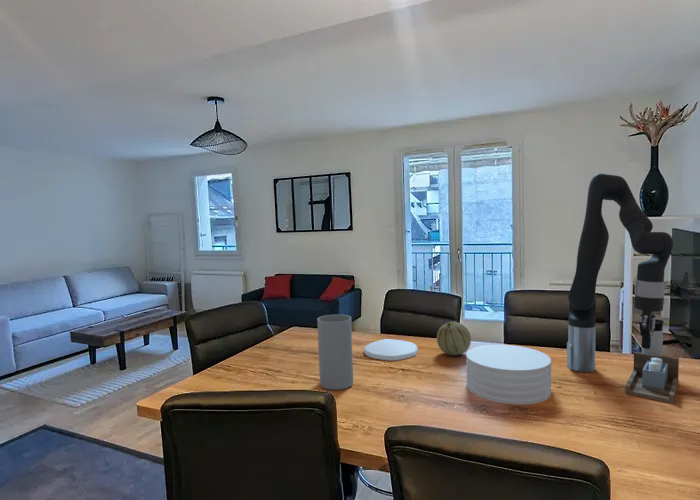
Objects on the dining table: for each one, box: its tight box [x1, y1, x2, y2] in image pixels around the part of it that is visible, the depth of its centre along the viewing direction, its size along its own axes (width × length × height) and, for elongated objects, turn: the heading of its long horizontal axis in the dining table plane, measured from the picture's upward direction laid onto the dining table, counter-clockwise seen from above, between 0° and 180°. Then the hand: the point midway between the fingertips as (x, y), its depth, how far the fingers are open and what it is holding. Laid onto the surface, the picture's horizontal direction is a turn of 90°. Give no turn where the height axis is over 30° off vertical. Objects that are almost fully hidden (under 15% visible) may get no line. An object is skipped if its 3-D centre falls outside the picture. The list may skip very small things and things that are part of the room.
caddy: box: [642, 358, 668, 391], centre depth 147 cm, size 12×6×8 cm, turn 138°
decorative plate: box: [363, 338, 419, 361], centre depth 197 cm, size 25×4×25 cm
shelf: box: [624, 351, 680, 405], centre depth 145 cm, size 20×13×9 cm, turn 139°
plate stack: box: [465, 344, 552, 405], centre depth 151 cm, size 28×28×12 cm
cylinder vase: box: [316, 314, 354, 391], centre depth 158 cm, size 12×12×25 cm
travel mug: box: [641, 319, 665, 356], centre depth 160 cm, size 6×7×20 cm
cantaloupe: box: [436, 321, 472, 356], centre depth 188 cm, size 15×15×15 cm
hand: (645, 347), depth 137 cm, fingers closed
